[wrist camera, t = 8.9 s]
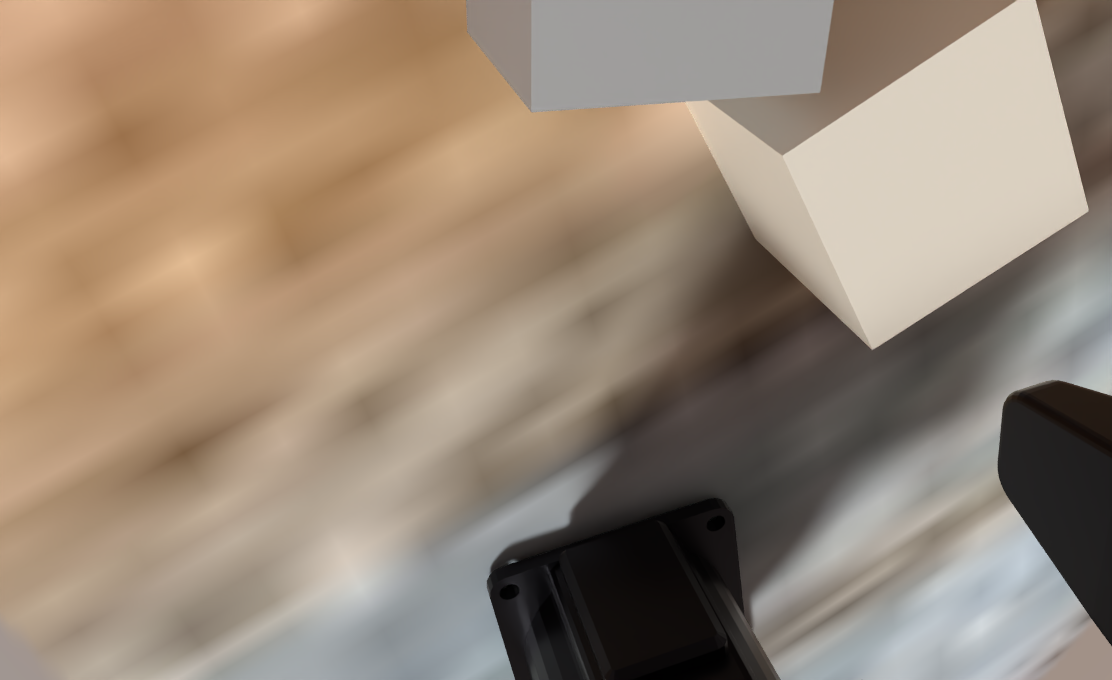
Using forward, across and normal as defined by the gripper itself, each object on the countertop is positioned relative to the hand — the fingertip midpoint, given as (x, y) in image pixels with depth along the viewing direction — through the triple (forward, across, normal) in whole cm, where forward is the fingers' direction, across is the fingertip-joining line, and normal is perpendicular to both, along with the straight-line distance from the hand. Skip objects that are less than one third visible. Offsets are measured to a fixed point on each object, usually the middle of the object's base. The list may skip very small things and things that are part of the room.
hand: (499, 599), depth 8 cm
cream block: (+13, -9, +2) cm, 16 cm away
